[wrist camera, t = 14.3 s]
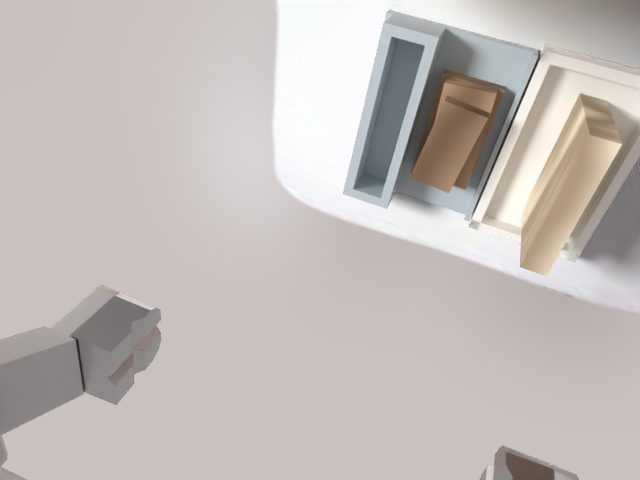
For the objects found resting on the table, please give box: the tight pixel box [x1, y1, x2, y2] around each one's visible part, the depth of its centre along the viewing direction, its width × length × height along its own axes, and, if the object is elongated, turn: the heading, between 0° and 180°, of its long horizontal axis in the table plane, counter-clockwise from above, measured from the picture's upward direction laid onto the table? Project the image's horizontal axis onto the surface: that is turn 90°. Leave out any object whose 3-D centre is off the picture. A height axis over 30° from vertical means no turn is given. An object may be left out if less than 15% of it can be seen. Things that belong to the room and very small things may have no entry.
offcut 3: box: [434, 78, 498, 186], centre depth 42 cm, size 4×8×1 cm, turn 173°
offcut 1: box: [411, 69, 506, 190], centre depth 44 cm, size 5×9×1 cm, turn 169°
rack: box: [343, 10, 538, 221], centre depth 44 cm, size 12×15×4 cm
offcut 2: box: [410, 96, 489, 193], centre depth 42 cm, size 4×7×1 cm, turn 163°
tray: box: [469, 44, 640, 262], centre depth 43 cm, size 10×16×2 cm, turn 169°
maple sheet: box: [520, 93, 622, 276], centre depth 40 cm, size 2×11×9 cm, turn 169°
